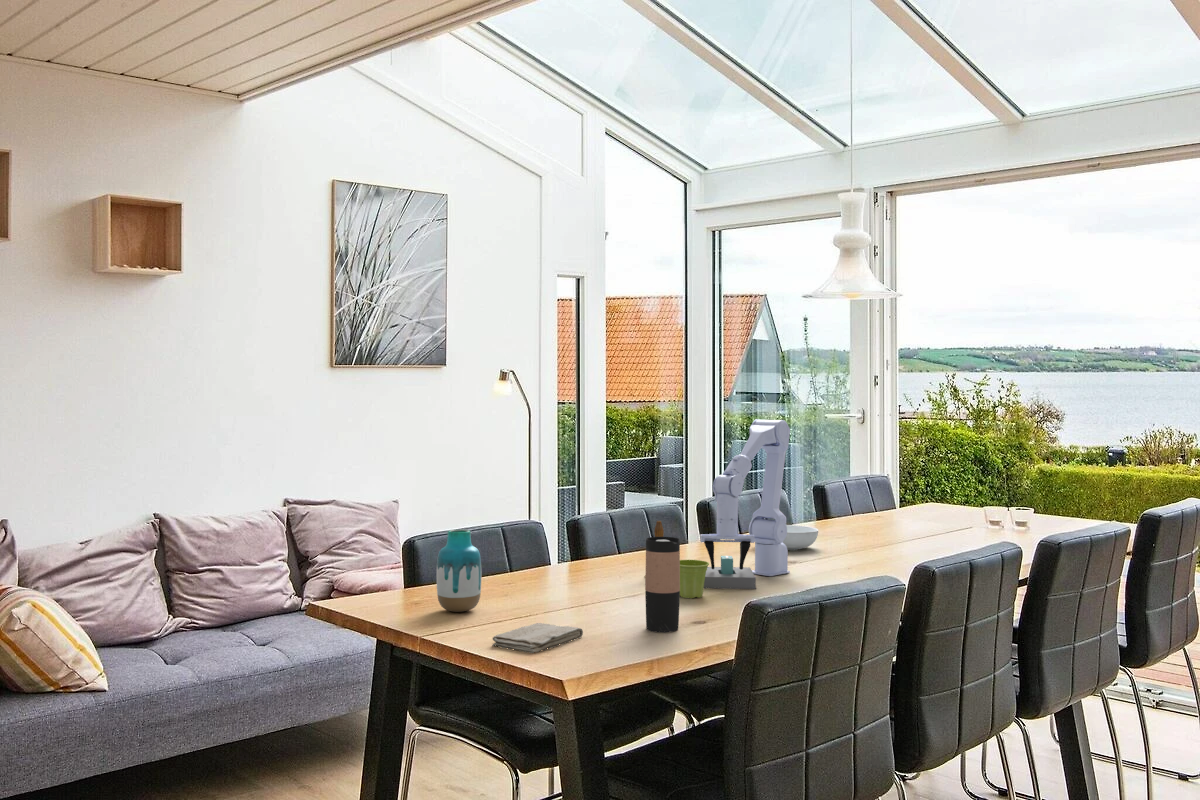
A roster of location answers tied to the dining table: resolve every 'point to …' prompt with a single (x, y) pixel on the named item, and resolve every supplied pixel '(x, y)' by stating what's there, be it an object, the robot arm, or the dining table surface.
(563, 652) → the dining table surface
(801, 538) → the serving bowl
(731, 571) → the keyed peg
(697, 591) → the plant pot
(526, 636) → the washcloth
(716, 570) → the keyed socket
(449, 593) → the vase
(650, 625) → the travel mug
